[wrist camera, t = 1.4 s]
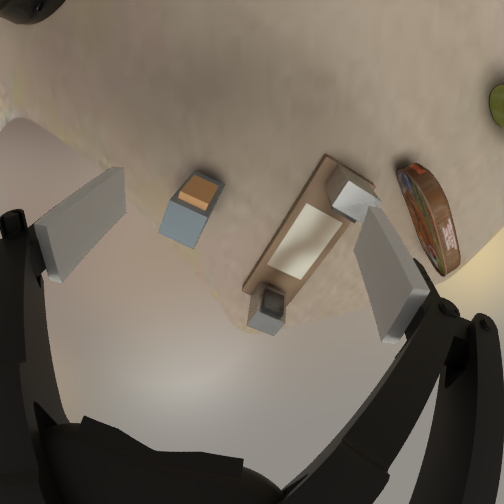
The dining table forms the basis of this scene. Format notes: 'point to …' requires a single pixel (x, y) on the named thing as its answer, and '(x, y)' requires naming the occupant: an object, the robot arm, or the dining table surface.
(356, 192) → the near end finger
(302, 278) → the brown flat board
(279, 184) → the dining table surface
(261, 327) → the far end finger
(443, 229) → the tin
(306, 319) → the dining table surface
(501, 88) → the plant pot
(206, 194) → the block
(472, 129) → the dining table surface
